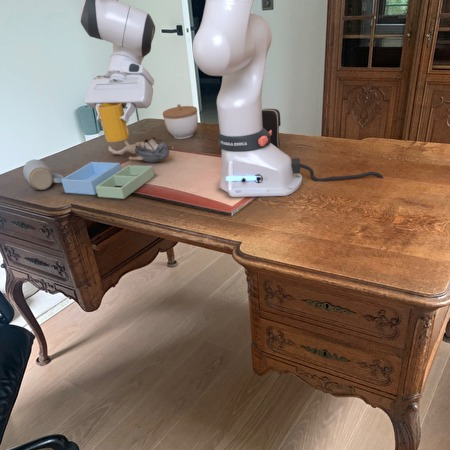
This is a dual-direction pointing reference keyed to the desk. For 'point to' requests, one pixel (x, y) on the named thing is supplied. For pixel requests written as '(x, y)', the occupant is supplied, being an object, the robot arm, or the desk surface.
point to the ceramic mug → (40, 175)
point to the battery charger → (272, 124)
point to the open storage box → (89, 177)
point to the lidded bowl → (181, 121)
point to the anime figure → (145, 151)
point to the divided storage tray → (125, 181)
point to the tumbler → (113, 122)
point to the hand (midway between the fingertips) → (112, 121)
